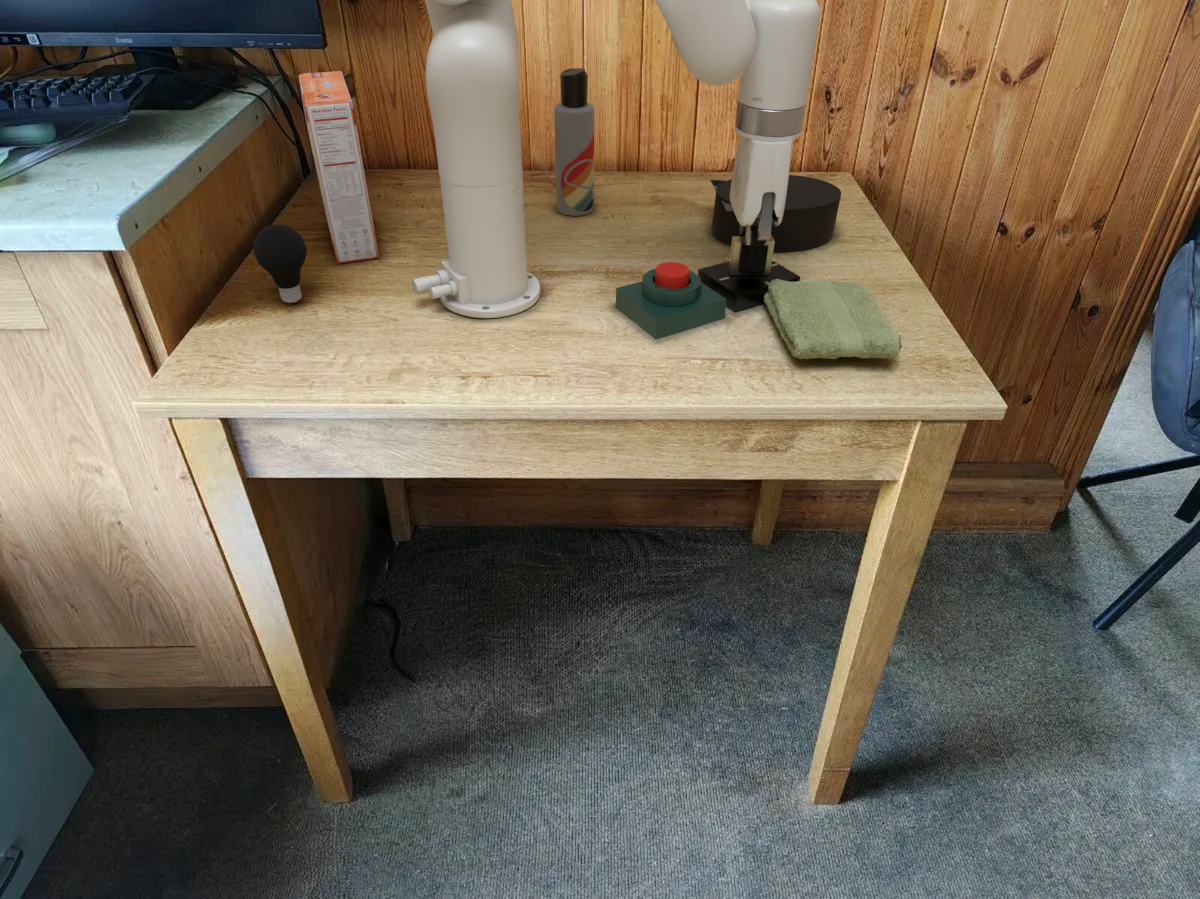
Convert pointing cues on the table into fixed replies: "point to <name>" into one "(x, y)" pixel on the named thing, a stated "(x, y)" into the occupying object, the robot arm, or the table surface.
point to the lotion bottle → (574, 145)
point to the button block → (669, 305)
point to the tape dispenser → (786, 214)
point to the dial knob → (736, 253)
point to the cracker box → (339, 165)
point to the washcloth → (830, 320)
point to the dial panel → (742, 284)
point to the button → (672, 275)
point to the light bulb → (282, 258)
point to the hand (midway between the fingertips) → (749, 268)
